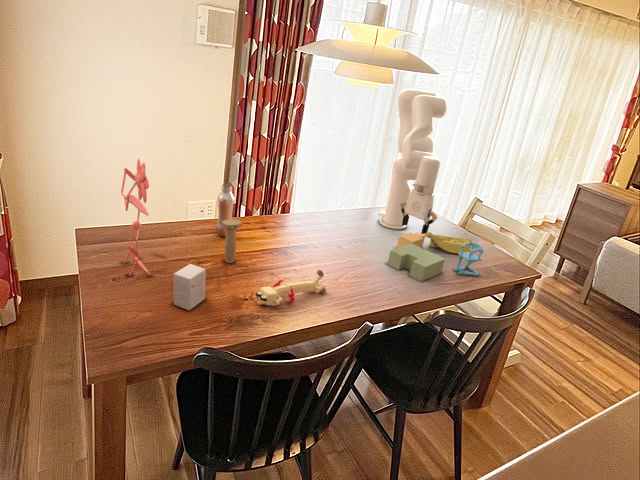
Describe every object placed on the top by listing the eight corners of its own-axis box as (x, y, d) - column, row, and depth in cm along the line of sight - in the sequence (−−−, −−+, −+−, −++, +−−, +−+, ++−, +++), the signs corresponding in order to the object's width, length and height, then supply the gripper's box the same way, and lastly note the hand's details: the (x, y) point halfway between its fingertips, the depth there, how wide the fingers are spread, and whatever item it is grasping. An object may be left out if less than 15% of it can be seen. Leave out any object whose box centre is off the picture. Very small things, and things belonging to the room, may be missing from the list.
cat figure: (310, 286, 163) (247, 296, 148) (315, 263, 160) (251, 271, 144) (328, 300, 157) (264, 312, 141) (334, 276, 153) (269, 286, 137)
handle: (240, 262, 169) (243, 223, 161) (224, 266, 165) (227, 226, 158) (233, 257, 172) (236, 218, 165) (217, 260, 168) (219, 220, 161)
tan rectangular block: (396, 248, 200) (399, 235, 198) (411, 243, 208) (414, 230, 205) (409, 255, 197) (413, 241, 194) (424, 249, 204) (428, 236, 201)
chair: (450, 267, 191) (459, 240, 185) (467, 267, 194) (476, 240, 189) (462, 277, 185) (471, 249, 179) (479, 276, 188) (488, 248, 182)
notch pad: (387, 264, 185) (390, 250, 183) (407, 256, 195) (411, 243, 192) (421, 281, 176) (425, 267, 174) (441, 272, 186) (445, 258, 183)
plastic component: (460, 238, 215) (473, 238, 205) (458, 255, 215) (470, 255, 206) (420, 232, 210) (431, 231, 200) (418, 249, 210) (429, 249, 201)
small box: (189, 293, 146) (190, 263, 141) (205, 299, 144) (206, 268, 139) (173, 305, 139) (172, 273, 134) (189, 311, 138) (189, 279, 133)
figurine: (131, 289, 143) (125, 175, 127) (116, 252, 162) (109, 149, 145) (182, 282, 151) (183, 174, 134) (162, 248, 170) (160, 149, 153)
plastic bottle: (236, 235, 189) (239, 186, 179) (224, 239, 184) (227, 189, 174) (224, 230, 192) (226, 181, 182) (212, 234, 186) (214, 184, 177)
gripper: (400, 183, 191) (391, 223, 199) (437, 196, 181) (426, 238, 189) (411, 181, 196) (402, 221, 204) (447, 194, 186) (436, 235, 194)
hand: (414, 229), depth 196 cm, fingers open, 9 cm apart
